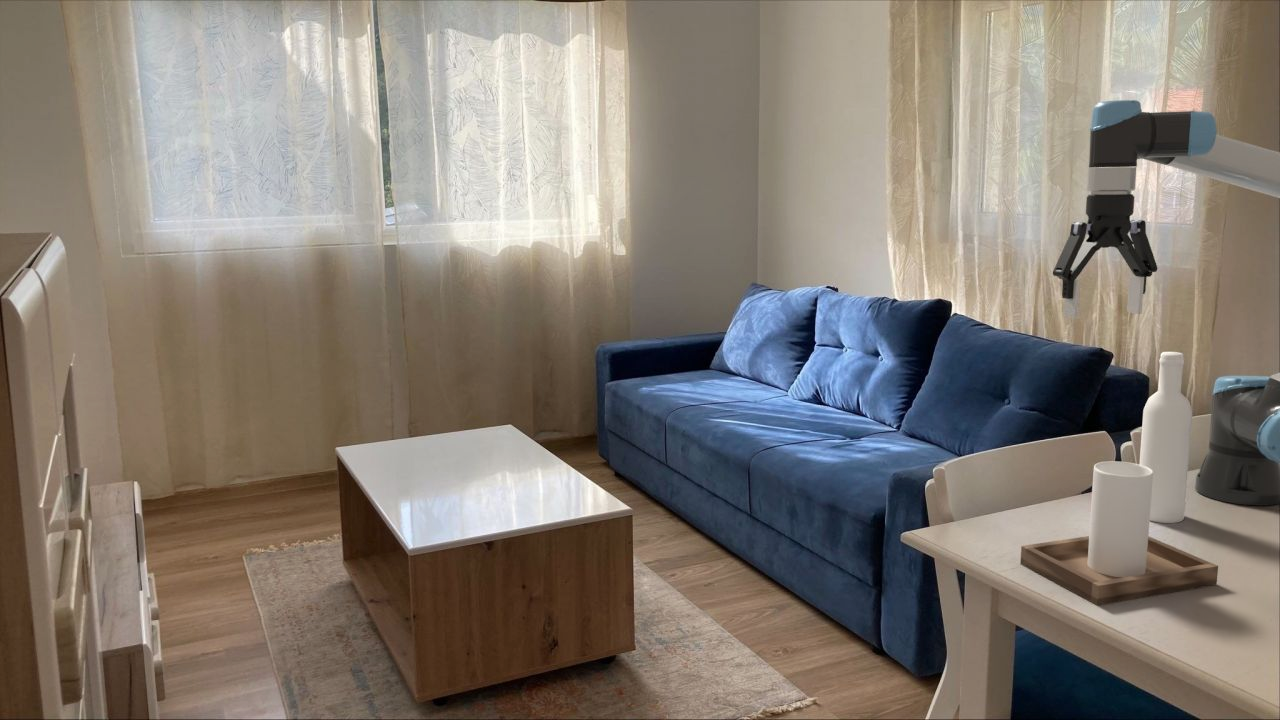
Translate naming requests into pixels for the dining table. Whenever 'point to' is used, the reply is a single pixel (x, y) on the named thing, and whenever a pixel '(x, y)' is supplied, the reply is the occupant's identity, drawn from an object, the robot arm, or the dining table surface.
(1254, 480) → the robot arm
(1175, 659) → the dining table surface
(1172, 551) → the tray
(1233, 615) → the dining table surface
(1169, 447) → the bottle
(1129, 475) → the cup
